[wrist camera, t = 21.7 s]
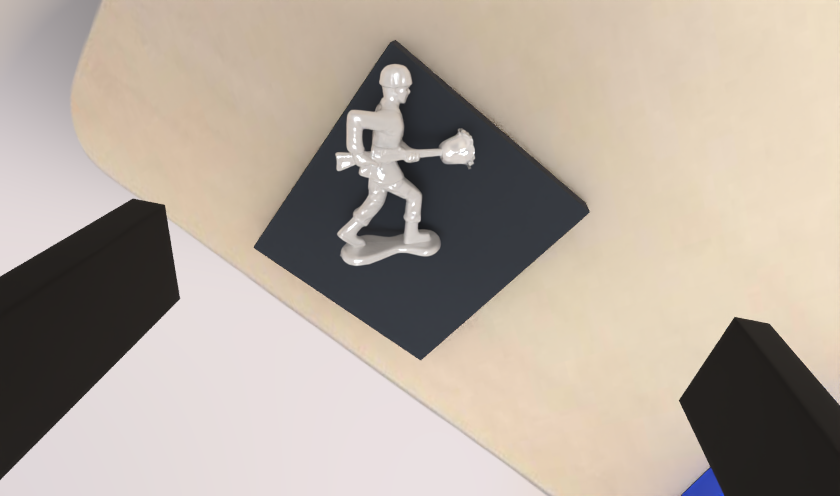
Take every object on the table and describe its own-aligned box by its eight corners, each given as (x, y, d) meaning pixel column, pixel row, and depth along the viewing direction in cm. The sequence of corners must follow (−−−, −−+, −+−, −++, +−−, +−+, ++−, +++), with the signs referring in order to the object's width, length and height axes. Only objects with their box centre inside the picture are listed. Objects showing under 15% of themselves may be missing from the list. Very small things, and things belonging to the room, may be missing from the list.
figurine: (334, 241, 32) (300, 68, 25) (450, 213, 35) (449, 48, 28) (349, 280, 29) (314, 90, 22) (478, 246, 31) (485, 65, 24)
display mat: (261, 238, 37) (252, 247, 35) (395, 39, 28) (390, 41, 26) (422, 349, 40) (420, 360, 39) (586, 203, 31) (590, 212, 30)
